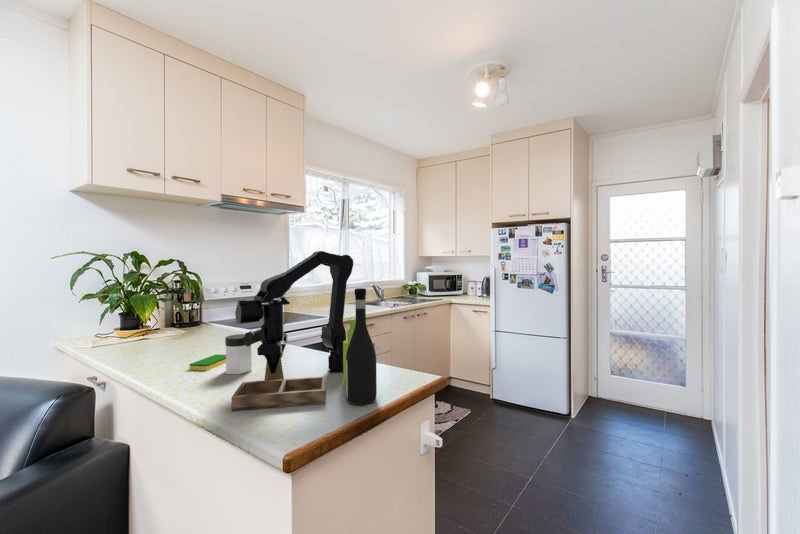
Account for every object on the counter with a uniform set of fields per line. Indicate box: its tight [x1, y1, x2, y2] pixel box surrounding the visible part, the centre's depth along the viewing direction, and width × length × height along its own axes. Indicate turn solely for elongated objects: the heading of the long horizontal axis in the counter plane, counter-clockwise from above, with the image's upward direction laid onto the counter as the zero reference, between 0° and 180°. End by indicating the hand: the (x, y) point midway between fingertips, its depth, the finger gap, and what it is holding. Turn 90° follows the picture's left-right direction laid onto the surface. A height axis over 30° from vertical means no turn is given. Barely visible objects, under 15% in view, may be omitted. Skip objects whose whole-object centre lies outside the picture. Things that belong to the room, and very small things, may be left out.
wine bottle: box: [345, 287, 378, 406], centre depth 98 cm, size 8×8×30 cm
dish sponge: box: [189, 354, 226, 371], centre depth 134 cm, size 7×14×2 cm, turn 170°
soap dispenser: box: [342, 317, 356, 387], centre depth 111 cm, size 6×7×20 cm
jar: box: [224, 333, 253, 375], centre depth 126 cm, size 9×8×12 cm
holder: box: [231, 375, 327, 412], centre depth 100 cm, size 23×12×4 cm, turn 101°
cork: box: [264, 351, 285, 380], centre depth 112 cm, size 6×6×11 cm
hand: (274, 371), depth 112 cm, fingers closed on cork, 4 cm apart
